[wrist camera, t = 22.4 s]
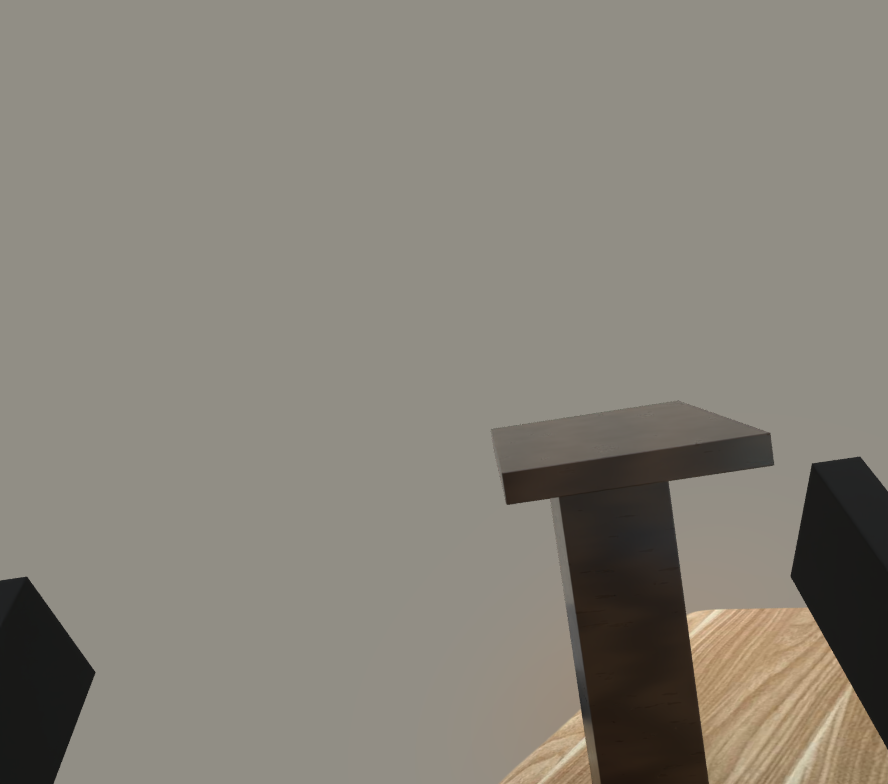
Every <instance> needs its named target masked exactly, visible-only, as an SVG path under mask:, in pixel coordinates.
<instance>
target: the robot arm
mask: <svg viewBox="0 0 888 784" xmlns="http://www.w3.org/2000/svg"><path fill="white" fill-rule="evenodd" d="M791 578H792V580H793V582H794V583H795V585H796V587H797V589H798V591H799V592H800V594H801V596H802V598H803V599H804V601H805V603H806V605H807V607H808V608H809V610H810V612H811V614H812V615H813V617H814V619H815V621H816V623H817V624H818V626H819V628H820V630H821V631H822V633H823V635H824V637H825V639H826V640H827V642H828V644H829V646H830V648H831V649H832V651H833V653H834V655H835V656H836V658H837V660H838V662H839V664H840V665H841V667H842V669H843V671H844V672H845V674H846V676H847V678H848V680H849V681H850V683H851V685H852V687H853V688H854V690H855V692H856V694H857V696H858V697H859V699H860V701H861V703H862V705H863V706H864V708H865V710H866V712H867V713H868V715H869V717H870V719H871V721H872V722H873V724H874V726H875V728H876V729H877V731H878V733H879V735H880V737H881V738H882V740H883V742H884V744H885V745H886V747H887V749H888V491H887V490H886V489H885V487H884V486H883V485H882V484H881V482H880V481H879V480H878V478H877V477H876V476H875V475H874V473H873V472H872V471H871V470H870V468H869V467H868V466H867V465H866V463H865V462H864V461H863V460H862V459H861V457H854V458H847V459H840V460H833V461H827V462H819V463H812V466H811V472H810V477H809V483H808V487H807V493H806V499H805V503H804V508H803V514H802V520H801V524H800V530H799V535H798V540H797V546H796V551H795V556H794V561H793V567H792V572H791ZM94 675H95V671H94V669H93V668H92V667H91V665H90V664H89V663H88V661H87V660H86V658H85V657H84V656H83V654H82V653H81V651H80V650H79V649H78V647H77V646H76V644H75V643H74V642H73V640H72V639H71V637H69V635H68V633H67V632H66V630H65V629H64V628H63V626H62V625H61V623H60V622H59V621H58V619H57V618H56V616H55V615H54V614H53V612H52V611H51V609H50V608H49V607H48V605H47V604H46V603H45V601H44V600H43V599H42V597H41V595H40V594H39V593H38V591H37V590H36V589H35V587H34V586H33V584H32V583H31V582H30V580H29V579H28V577H21V578H15V579H8V580H1V581H0V784H54V781H55V778H56V776H57V773H58V770H59V768H60V765H61V762H62V760H63V757H64V754H65V752H66V749H67V746H68V744H69V741H70V738H71V736H72V733H73V731H74V728H75V725H76V723H77V720H78V717H79V715H80V712H81V709H82V707H83V704H84V702H85V699H86V696H87V694H88V691H89V688H90V686H91V683H92V680H93V677H94Z"/></svg>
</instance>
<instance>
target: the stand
mask: <svg viewBox="0 0 888 784" xmlns="http://www.w3.org/2000/svg"><path fill="white" fill-rule="evenodd" d="M491 434H492V441H493V447H494V452H495V457H496V461H497V466H498V470H499V474H500V478H501V483H502V487H503V492H504V496H505V500H506V504H507V505H510V504H516V503H523V502H530V501H537V500H542V499H543V500H544V499H550V502H551V508H552V515H553V522H554V528H555V535H556V542H557V549H558V556H559V563H560V569H561V576H562V583H563V589H564V596H565V603H566V610H567V617H568V623H569V630H570V637H571V644H572V650H573V657H574V663H575V670H576V677H577V684H578V691H579V698H580V704H581V711H582V718H583V725H584V732H585V738H586V745H587V752H588V759H589V765H590V772H591V779H592V784H709V781H708V774H707V766H706V759H705V751H704V744H703V736H702V729H701V721H700V714H699V706H698V699H697V691H696V684H695V677H694V669H693V662H692V654H691V647H690V639H689V632H688V624H687V617H686V610H685V602H684V595H683V587H682V580H681V572H680V564H679V557H678V549H677V542H676V534H675V527H674V519H673V512H672V504H671V497H670V489H669V482H668V481H672V480H679V479H686V478H692V477H699V476H705V475H712V474H719V473H726V472H733V471H739V470H746V469H753V468H760V467H767V466H773V465H774V460H773V452H772V444H771V435H770V433H769V432H766V431H763V430H760V429H757V428H755V427H752V426H749V425H746V424H743V423H740V422H738V421H735V420H732V419H729V418H726V417H723V416H720V415H718V414H715V413H712V412H709V411H706V410H703V409H701V408H698V407H695V406H692V405H689V404H686V403H684V402H681V401H673V402H666V403H659V404H653V405H647V406H640V407H634V408H627V409H620V410H614V411H607V412H601V413H594V414H587V415H581V416H574V417H567V418H561V419H555V420H548V421H541V422H535V423H528V424H522V425H515V426H508V427H502V428H496V429H491Z"/></svg>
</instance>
